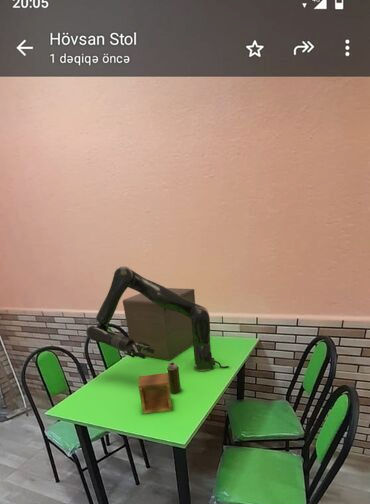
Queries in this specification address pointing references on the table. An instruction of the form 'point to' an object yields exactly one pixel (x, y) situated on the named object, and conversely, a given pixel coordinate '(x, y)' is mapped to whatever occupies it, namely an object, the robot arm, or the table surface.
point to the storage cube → (159, 325)
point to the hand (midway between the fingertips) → (149, 354)
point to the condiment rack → (155, 393)
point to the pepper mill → (174, 378)
